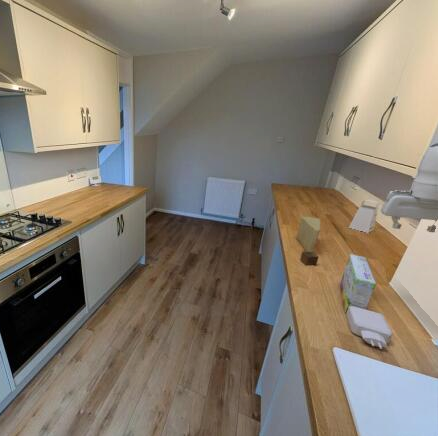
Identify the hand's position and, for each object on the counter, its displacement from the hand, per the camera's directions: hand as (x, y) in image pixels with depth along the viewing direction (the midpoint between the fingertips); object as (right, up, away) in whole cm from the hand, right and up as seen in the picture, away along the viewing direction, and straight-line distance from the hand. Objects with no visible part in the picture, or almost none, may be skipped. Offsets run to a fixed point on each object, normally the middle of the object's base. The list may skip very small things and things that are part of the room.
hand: (413, 230), depth 84 cm
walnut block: (-14, -18, +35) cm, 42 cm away
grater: (+51, -3, +77) cm, 92 cm away
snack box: (-15, -28, +9) cm, 33 cm away
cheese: (-3, -12, +51) cm, 53 cm away
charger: (-23, -34, -7) cm, 42 cm away
